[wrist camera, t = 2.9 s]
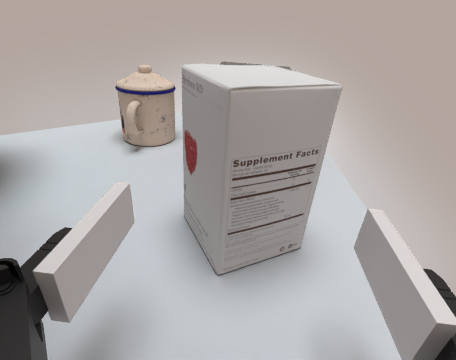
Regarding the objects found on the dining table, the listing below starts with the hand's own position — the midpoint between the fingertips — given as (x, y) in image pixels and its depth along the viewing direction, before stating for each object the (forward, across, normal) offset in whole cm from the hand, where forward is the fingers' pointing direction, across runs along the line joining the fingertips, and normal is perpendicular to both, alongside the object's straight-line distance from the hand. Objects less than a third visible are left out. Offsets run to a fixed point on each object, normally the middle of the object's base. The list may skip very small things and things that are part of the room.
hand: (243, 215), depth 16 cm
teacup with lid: (+30, -17, -9) cm, 36 cm away
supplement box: (+9, 0, -9) cm, 13 cm away
